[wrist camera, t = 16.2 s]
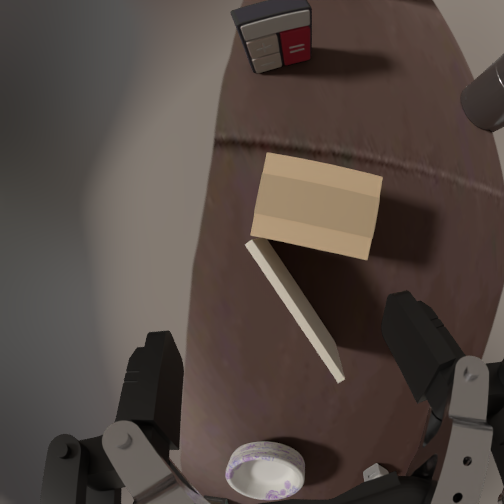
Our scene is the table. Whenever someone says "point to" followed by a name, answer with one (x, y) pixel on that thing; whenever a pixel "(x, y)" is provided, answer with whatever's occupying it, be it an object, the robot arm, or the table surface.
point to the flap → (297, 304)
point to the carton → (317, 205)
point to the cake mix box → (216, 500)
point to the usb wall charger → (374, 472)
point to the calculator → (275, 32)
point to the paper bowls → (266, 470)
